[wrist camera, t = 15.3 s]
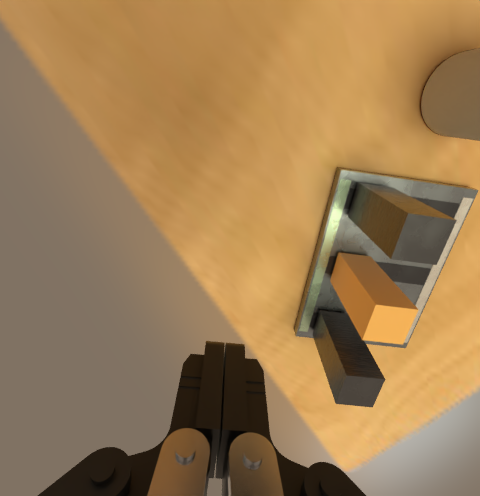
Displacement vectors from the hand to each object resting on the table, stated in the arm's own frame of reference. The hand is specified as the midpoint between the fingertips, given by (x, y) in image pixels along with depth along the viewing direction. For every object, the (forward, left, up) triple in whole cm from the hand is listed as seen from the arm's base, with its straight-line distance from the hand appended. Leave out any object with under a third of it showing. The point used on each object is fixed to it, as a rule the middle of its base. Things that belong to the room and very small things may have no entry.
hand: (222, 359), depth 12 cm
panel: (-4, +20, -27) cm, 34 cm away
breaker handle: (-2, +17, -25) cm, 30 cm away
